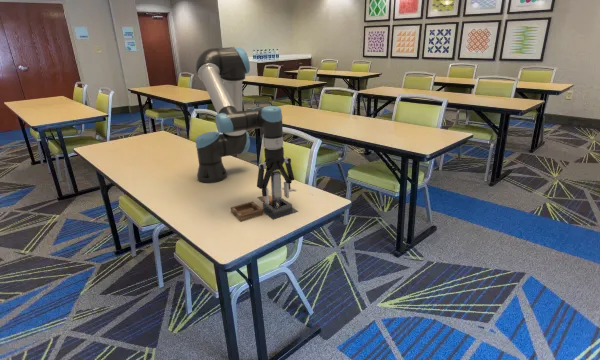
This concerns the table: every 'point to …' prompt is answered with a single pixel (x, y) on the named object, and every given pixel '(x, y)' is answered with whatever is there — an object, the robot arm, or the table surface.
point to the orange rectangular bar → (269, 199)
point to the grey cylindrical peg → (276, 189)
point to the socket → (277, 209)
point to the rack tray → (247, 211)
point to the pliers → (292, 190)
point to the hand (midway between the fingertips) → (277, 199)
